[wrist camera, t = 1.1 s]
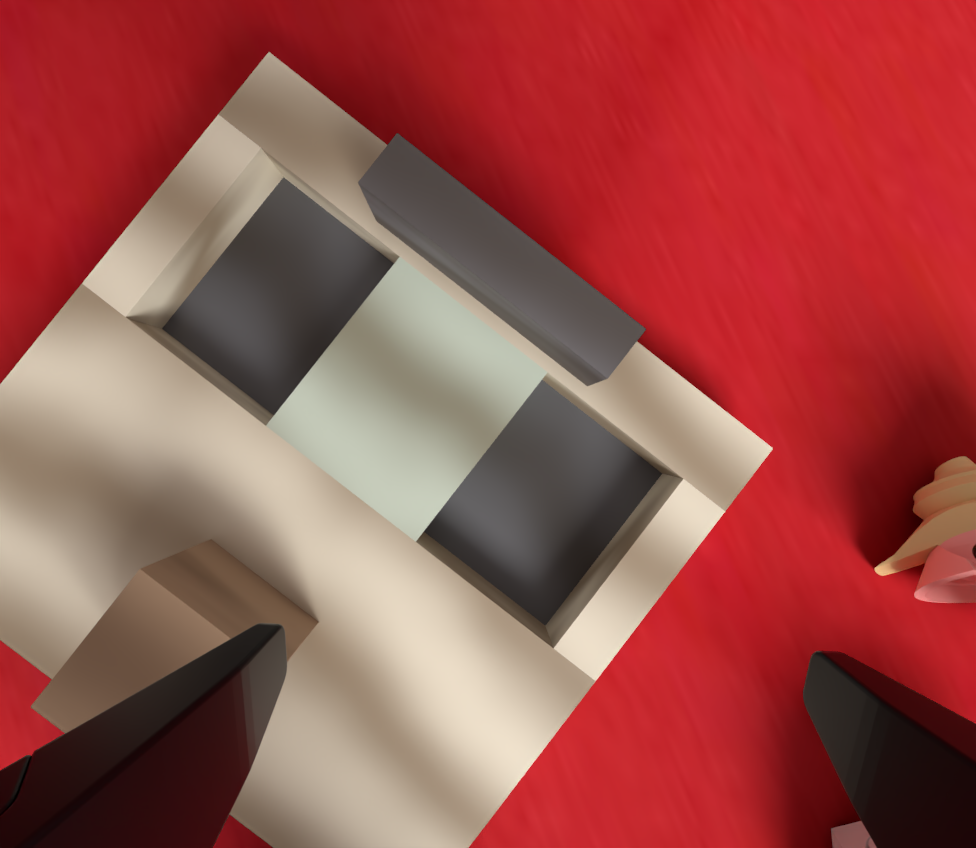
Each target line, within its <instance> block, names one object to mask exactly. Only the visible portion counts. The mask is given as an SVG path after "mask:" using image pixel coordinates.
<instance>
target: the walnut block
mask: <svg viewBox="0 0 976 848" xmlns="http://www.w3.org/2000/svg"><path fill="white" fill-rule="evenodd" d="M258 623H275V624H281V625H282V626H283V627H284V629H285V637H286V653H287V662H288V661H289V660H290V658H291V657H292V656H293V655H294V653H295V652H296V651H297V649H298V648H299V647H300V646H301V644H302V643H303V642H304V640H305V639H306V638H307V637H308V635H309V634H310V633H311V631H312V630H313V629H314V628H315V626H316V625H317V624H318V621H317V620H316V619H314V618H313V617H312V616H310V615H309V614H308V613H307V612H305V611H304V610H303V609H301V608H300V607H299V606H297V605H296V604H295V603H294V602H292V601H291V600H290V599H288V598H287V597H286V596H284V595H283V594H282V593H281V592H279V591H278V590H277V589H275V588H274V587H273V586H271V585H270V584H269V583H268V582H266V581H265V580H264V579H262V578H261V577H260V576H258V575H257V574H256V573H255V572H253V571H252V570H251V569H249V568H248V567H247V566H245V565H244V564H243V563H242V562H240V561H239V560H238V559H236V558H235V557H234V556H232V555H231V554H230V553H229V552H227V551H226V550H225V549H223V548H222V547H221V546H219V545H218V544H217V543H216V542H214V541H213V540H212V539H210V540H208V541H205V542H203V543H200V544H198V545H196V546H193V547H191V548H188V549H186V550H184V551H181V552H179V553H176V554H174V555H172V556H169V557H167V558H164V559H162V560H160V561H157V562H155V563H153V564H150V565H148V566H145V567H143V568H141V569H139V570H138V572H137V573H136V574H135V576H134V577H133V578H132V579H131V581H130V582H129V583H128V584H127V586H126V587H125V588H124V589H123V591H122V592H121V593H120V594H119V596H118V597H117V598H116V600H115V601H114V602H113V603H112V605H111V606H110V607H109V608H108V610H107V611H106V612H105V613H104V615H103V616H102V617H101V618H100V620H99V621H98V622H97V624H96V625H95V626H94V627H93V629H92V630H91V631H90V632H89V634H88V635H87V636H86V637H85V639H84V640H83V641H82V642H81V644H80V645H79V646H78V647H77V649H76V650H75V651H74V653H73V654H72V655H71V656H70V658H69V659H68V660H67V661H66V663H65V664H64V665H63V666H62V668H61V669H60V670H59V671H58V673H57V674H56V675H55V677H54V678H53V679H52V680H51V682H50V683H49V684H48V685H47V687H46V688H45V689H44V690H43V692H42V693H41V694H40V695H39V697H38V698H37V699H36V701H35V702H34V703H33V704H32V706H31V708H32V709H34V710H35V711H36V712H38V713H39V714H40V715H42V716H43V717H44V718H46V719H47V720H48V721H49V722H51V723H52V724H53V725H55V726H56V727H57V728H59V729H60V730H61V731H63V732H64V733H67V732H69V731H70V730H72V729H74V728H76V727H77V726H79V725H81V724H83V723H84V722H86V721H88V720H90V719H91V718H93V717H95V716H97V715H98V714H100V713H102V712H104V711H105V710H107V709H109V708H111V707H112V706H114V705H116V704H118V703H119V702H121V701H123V700H125V699H126V698H128V697H130V696H132V695H133V694H135V693H137V692H139V691H140V690H142V689H144V688H146V687H147V686H149V685H151V684H153V683H154V682H156V681H158V680H160V679H161V678H163V677H165V676H167V675H168V674H170V673H172V672H174V671H175V670H177V669H179V668H181V667H182V666H184V665H186V664H188V663H189V662H191V661H193V660H195V659H196V658H198V657H200V656H201V655H203V654H205V653H207V652H208V651H210V650H212V649H214V648H215V647H217V646H219V645H221V644H222V643H224V642H226V641H228V640H229V639H231V638H233V637H235V636H236V635H238V634H240V633H242V632H243V631H245V630H247V629H249V628H250V627H252V626H254V625H256V624H258Z"/></svg>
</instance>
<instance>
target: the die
mask: <svg viewBox="0 0 976 848" xmlns="http://www.w3.org/2000/svg"><path fill="white" fill-rule="evenodd" d="M831 835H832V846H833V848H877V847H876V846H875V844H874V842H873V841H872V839H871V837H870V835H869V834H868V832H867V830H866V829H865V827H864V825H863V823H862V822H861V821H858V822H854V823H850V824H846V825H842V826H838V827H834V828H831Z"/></svg>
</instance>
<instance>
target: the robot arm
mask: <svg viewBox="0 0 976 848" xmlns="http://www.w3.org/2000/svg"><path fill="white" fill-rule="evenodd" d="M286 673H287V653H286V637H285V629H284V627H283V626H282V625H281V624H275V623H258V624H256V625H254V626H252V627H250V628H249V629H247V630H245V631H243V632H242V633H240V634H238V635H236V636H235V637H233V638H231V639H229V640H228V641H226V642H224V643H222V644H221V645H219V646H217V647H215V648H214V649H212V650H210V651H208V652H207V653H205V654H203V655H201V656H200V657H198V658H196V659H195V660H193V661H191V662H189V663H188V664H186V665H184V666H182V667H181V668H179V669H177V670H175V671H174V672H172V673H170V674H168V675H167V676H165V677H163V678H161V679H160V680H158V681H156V682H154V683H153V684H151V685H149V686H147V687H146V688H144V689H142V690H140V691H139V692H137V693H135V694H133V695H132V696H130V697H128V698H126V699H125V700H123V701H121V702H119V703H118V704H116V705H114V706H112V707H111V708H109V709H107V710H105V711H104V712H102V713H100V714H98V715H97V716H95V717H93V718H91V719H90V720H88V721H86V722H84V723H83V724H81V725H79V726H77V727H76V728H74V729H72V730H70V731H69V732H67V733H65V734H63V735H62V736H60V737H58V738H56V739H55V740H53V741H51V742H49V743H48V744H46V745H44V746H42V747H41V748H39V749H37V750H36V751H34V752H33V754H32V756H30V755H26V756H25V757H23V758H21V759H19V760H18V761H16V762H14V763H12V764H11V765H9V766H7V767H5V768H4V769H2V770H0V848H213V846H214V844H215V842H216V840H217V838H218V836H219V834H220V832H221V830H222V828H223V826H224V824H225V822H226V820H227V818H228V816H229V814H230V812H231V810H232V808H233V806H234V804H235V802H236V800H237V798H238V796H239V794H240V792H241V790H242V787H243V785H244V783H245V781H246V779H247V777H248V775H249V772H250V770H251V768H252V765H253V763H254V760H255V758H256V755H257V753H258V750H259V747H260V745H261V742H262V739H263V737H264V734H265V731H266V729H267V726H268V723H269V721H270V718H271V715H272V713H273V710H274V707H275V705H276V702H277V699H278V697H279V694H280V692H281V689H282V686H283V684H284V681H285V677H286ZM803 699H804V703H805V707H806V709H807V711H808V714H809V716H810V718H811V720H812V722H813V724H814V726H815V728H816V730H817V733H818V735H819V737H820V739H821V741H822V743H823V745H824V747H825V750H826V752H827V754H828V756H829V758H830V760H831V762H832V764H833V766H834V769H835V771H836V773H837V775H838V777H839V779H840V781H841V783H842V785H843V788H844V790H845V792H846V794H847V795H848V797H849V799H850V801H851V803H852V805H853V807H854V809H855V811H856V813H857V814H858V816H859V818H860V820H861V822H862V823H863V825H864V827H865V829H866V830H867V832H868V834H869V835H870V837H871V839H872V841H873V842H874V844H875V846H876V847H877V848H976V724H975V723H973V722H971V721H969V720H968V719H966V718H964V717H962V716H960V715H958V714H956V713H954V712H953V711H951V710H949V709H947V708H945V707H943V706H941V705H940V704H938V703H936V702H934V701H932V700H930V699H928V698H926V697H925V696H923V695H921V694H919V693H917V692H915V691H913V690H911V689H910V688H908V687H906V686H904V685H902V684H900V683H898V682H896V681H895V680H893V679H891V678H889V677H887V676H885V675H883V674H881V673H880V672H878V671H876V670H874V669H872V668H870V667H868V666H866V665H865V664H863V663H861V662H859V661H857V660H855V659H853V658H852V657H850V656H848V655H846V654H844V653H841V652H835V651H816V652H814V653H813V654H812V656H811V658H810V662H809V667H808V671H807V676H806V680H805V685H804V689H803Z"/></svg>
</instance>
